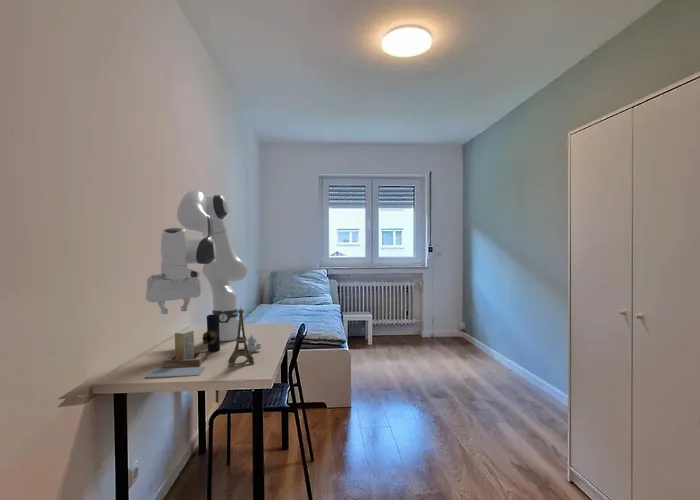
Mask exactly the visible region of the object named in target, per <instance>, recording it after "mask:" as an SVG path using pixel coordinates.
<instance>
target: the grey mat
mask: <svg viewBox="0 0 700 500" xmlns="http://www.w3.org/2000/svg"><path fill="white" fill-rule="evenodd" d="M205 369H206V366H200V367H179V368H153V369H152V370H151V371H150V372H149V373H147V375H146V376H144V379H163V378H164V379H165V378H183V377H184V378H185V377H199V376H200V375H201V373H203V372H204V370H205Z"/></svg>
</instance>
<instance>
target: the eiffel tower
mask: <svg viewBox="0 0 700 500" xmlns="http://www.w3.org/2000/svg"><path fill="white" fill-rule="evenodd" d="M244 313H245V311H244V309H243V308H240V309H238V319H239V325H238V335H237V337H236V340H235V341H236V342H235V347H234V349H233V352H232V353H231V355H230V357H229V358H228V360H227V363H228V366H227V367H228V368H234V367H236V365H235V363H236V361H237V358H238V359H239V357H245V358H246V360H247V361H248V365H249V366H252V365H255V361H254V360H255V358H254V356H253V355H252V353H250V352H249V349H248V347H247V340H248V339H247V336H246V335H245V334H246V333H245V326H244V315H243V314H244ZM241 328H242V330H241ZM240 330H241V331H242V335H243V337H240ZM240 344H243V346H244V347H240Z"/></svg>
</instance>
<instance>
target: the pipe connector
mask: <svg viewBox="0 0 700 500" xmlns="http://www.w3.org/2000/svg"><path fill="white" fill-rule="evenodd" d="M220 342H221V341H220V333H219V315H217V314H208V315H206V332H203V334H202V344H203V345H207V351H208V352H211V353H215V352H218V351H220V350H221V343H220Z"/></svg>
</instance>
